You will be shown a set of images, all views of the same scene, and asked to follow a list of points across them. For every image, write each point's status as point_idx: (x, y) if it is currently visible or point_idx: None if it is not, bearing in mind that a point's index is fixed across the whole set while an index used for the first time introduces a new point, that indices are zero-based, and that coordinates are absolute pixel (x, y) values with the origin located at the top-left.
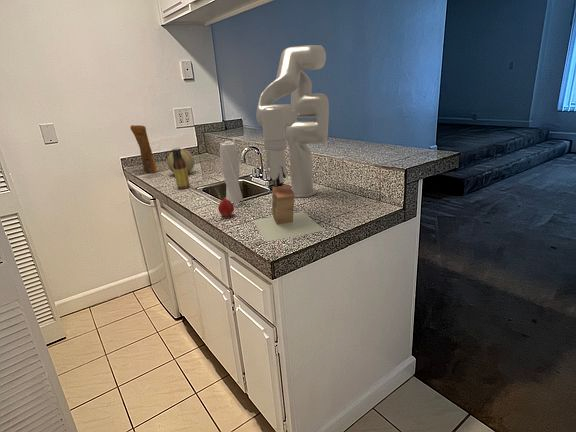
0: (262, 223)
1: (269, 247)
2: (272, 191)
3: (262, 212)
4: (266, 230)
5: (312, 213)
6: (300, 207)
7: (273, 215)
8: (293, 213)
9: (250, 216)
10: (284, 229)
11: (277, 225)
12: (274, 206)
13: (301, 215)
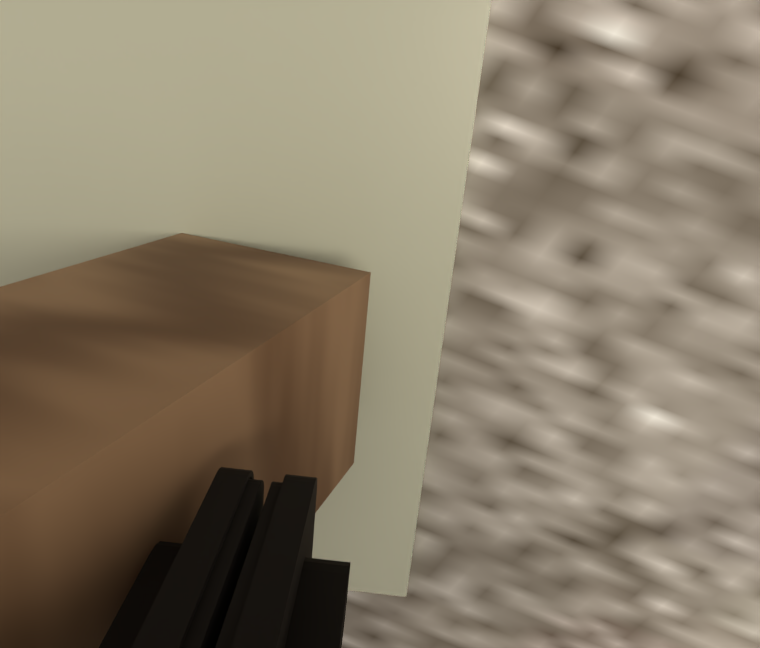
0: (304, 84)
1: None
2: (23, 495)
3: (729, 240)
4: (51, 47)
5: (344, 632)
6: (565, 622)
7: (296, 268)
8: (412, 506)
9: (711, 31)
10: (9, 253)
11: (154, 230)
12: (127, 318)
13: (314, 541)
